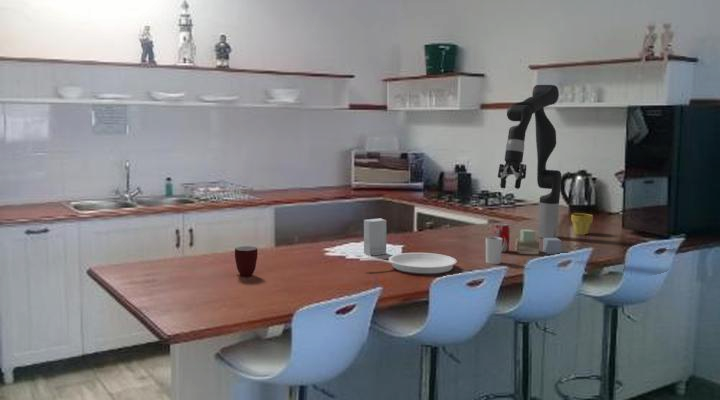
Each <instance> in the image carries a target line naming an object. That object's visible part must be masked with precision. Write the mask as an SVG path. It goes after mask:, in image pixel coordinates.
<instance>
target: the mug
mask: <svg viewBox="0 0 720 400" xmlns="http://www.w3.org/2000/svg"><path fill="white" fill-rule="evenodd" d="M234 258H235V264H236V265H235V266H236V270H237V272H238V273H239V275H240V276H241V277H242V278H244V277H245V278H249V277H252V276H253V274H254V272H255V271H256V270H255V269H256V265H257V261H258V247H256V246H251V245H250V246H247V245H245V246H238V247H235V248H234Z"/></svg>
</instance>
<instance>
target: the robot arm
mask: <svg viewBox="0 0 720 400" xmlns="http://www.w3.org/2000/svg"><path fill="white" fill-rule="evenodd" d="M531 94H532V96H530V97H529V96H528V98H526V99H525V100H523V101H520V102H516V103H513V104H511V105H509V106H508V108H507V110H506V117H507V119H508V120H509V121H511V122H518V123H519V124H517V125H514V126H510V127H509V129H508V136H507V141H506V146H505V153H504V154H505V155H504V161H505V163H504V164H502V163H500V164H499V167H498V173H497V177H498V178H499V179H500V183H499V184H500V185H499V186H500V188H501V189H506V186H507V179H508V177H510V175H511V176H512V175H513V176H514V177H515V183H514V189H516V190H519V189H520V188H521V185H522V180H523V179H526V177H527V176H526V175H527V164H524V163H523V161H524V160H523V159H524V151H525V139H526V132H527V130H528V126H529V124H530V122H531V119H532V117H533V114H534V120H535V141H536V142H535V143H536V154H537V156H536V157H537V168H536V169H537V170H536V171H537V173H536V175H537V176H536V177H537V178H536V179H537V181H536V182H537V186H538V188H540V189H546V190H547V189H548V190H551V192H550V193H548V194H545V195H541V196H540V197H539V208H538V209H539V211H538V228H537V229H538V230H537V237H538V238H541V239H543V238H558V231H559V230H558V229H559V215H560V214H559V209H560V199H561V188H562V179H563V178H562V173H561V171H560V170H557V169H556V170H555V169H547V162H548V159H549V158H550V156H551V154H552V153H553V151H554V150H555V148H556V147H557V146H556V145H557V131H556V128H555V126H554V125H553V123H552V122H551V120H550V118H548V116H547V115H546V113H545V109H544V108H546V107H548V106H551V105H555V104H556V103H557V102H558V100H559V97H560V93H559V88H558V86H556V85H553V84H536V85H534V86H533V89H532V93H531Z"/></svg>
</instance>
